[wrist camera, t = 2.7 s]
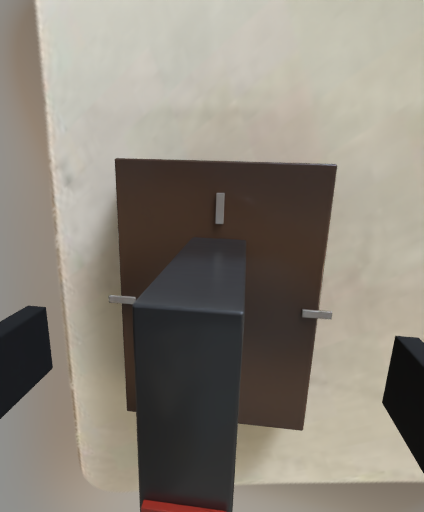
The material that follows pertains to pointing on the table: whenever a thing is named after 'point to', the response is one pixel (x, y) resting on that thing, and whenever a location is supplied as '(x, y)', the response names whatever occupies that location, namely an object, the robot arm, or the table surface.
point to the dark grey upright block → (190, 378)
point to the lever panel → (257, 261)
